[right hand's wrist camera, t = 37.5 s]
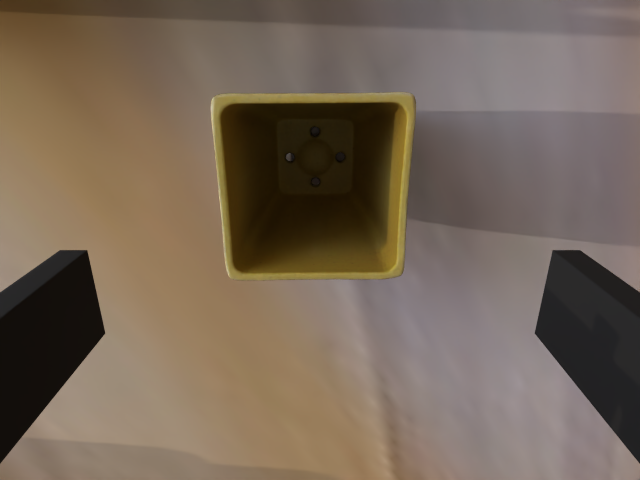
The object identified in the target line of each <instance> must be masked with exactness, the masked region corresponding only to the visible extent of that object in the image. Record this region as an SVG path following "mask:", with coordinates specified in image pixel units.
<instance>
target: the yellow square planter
mask: <svg viewBox="0 0 640 480" xmlns="http://www.w3.org/2000/svg"><path fill="white" fill-rule="evenodd" d="M211 119H212V128H213V138H214V149H215V158H216V168H217V177H218V189H219V199H220V208H221V219H222V230H223V244H224V255H225V264H226V269H227V273H228V275H229V277H230V278H231V279H233V280H241V281H257V280H263V281H265V280H303V279H389V278H394V277H398V276H401V275H402V273H403V270H404V261H405V240H406V221H407V201H408V190H409V178H410V168H411V158H412V147H413V137H414V128H415V119H416V101H415V97H414V96H413V94H411V93H407V92H389V93H306V94H305V93H271V94H238V93H227V94H219V95H217V96H215V97H214V98H213V99H212V102H211ZM313 127H317V128H319V131H320V132H319V134H318V135H317V136H313V135H312V134H311V129H312V128H313ZM288 153H292V154H293V155H294V156H295V158H294V160H293V161H288V160H287V159H286V155H287V154H288ZM338 153H343V154H344V156H345V158H344V160H342V161H338V160H337V159H336V155H337V154H338ZM315 177H316V178H318V179H319V180H320V183H319V184H318V185H313V184H312V183H311V180H312V179H313V178H315Z"/></svg>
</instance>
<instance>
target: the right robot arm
mask: <svg viewBox="0 0 640 480" xmlns="http://www.w3.org/2000/svg"><path fill="white" fill-rule="evenodd" d="M104 334H105V330H104V325H103V321H102V316H101V311H100V307H99V302H98V298H97V293H96V288H95V284H94V279H93V275H92V270H91V265H90V261H89V256H88V252H87V250H60V251H58V252H57V253H56V254H54V255H53V256H51V257H50V258H48V259H47V260H46V261H44V262H43V263H41V264H40V265H39V266H37V267H36V268H34V269H33V270H31V271H30V272H29V273H27V274H26V275H24V276H23V277H22V278H20V279H19V280H17V281H16V282H14V283H13V284H12V285H10V286H9V287H7V288H6V289H5V290H3V291H2V292H0V463H1V462H2V461H3V459H4V458H5V457H6V456H7V455H8V453H9V452H10V451H11V450H12V448H13V447H14V446H15V445H16V443H17V442H18V441H19V440H20V438H21V437H22V436H23V435H24V433H25V432H26V431H27V430H28V428H29V427H30V426H31V425H32V423H33V422H34V421H35V420H36V419H37V417H38V416H39V415H40V414H41V412H42V411H43V410H44V409H45V407H46V406H47V405H48V404H49V402H50V401H51V400H52V399H53V397H54V396H55V395H56V394H57V392H58V391H59V390H60V389H61V388H62V386H63V385H64V384H65V383H66V381H67V380H68V379H69V378H70V376H71V375H72V374H73V373H74V371H75V370H76V369H77V368H78V366H79V365H80V364H81V363H82V361H83V360H84V359H85V358H86V357H87V355H88V354H89V353H90V352H91V350H92V349H93V348H94V347H95V345H96V344H97V343H98V342H99V340H100V339H101V338H102V337H103V335H104ZM535 334H536V335H537V337H538V338H539V339H540V340H541V342H542V343H543V344H544V345H545V347H546V348H547V349H548V350H549V352H550V353H551V354H552V355H553V357H554V358H555V359H556V360H557V361H558V363H559V364H560V365H561V366H562V368H563V369H564V370H565V371H566V373H567V374H568V375H569V376H570V378H571V379H572V380H573V381H574V383H575V384H576V385H577V386H578V388H579V389H580V390H581V391H582V392H583V394H584V395H585V396H586V397H587V399H588V400H589V401H590V402H591V404H592V405H593V406H594V407H595V409H596V410H597V411H598V412H599V414H600V415H601V416H602V417H603V419H604V420H605V421H606V422H607V423H608V425H609V426H610V427H611V428H612V430H613V431H614V432H615V433H616V435H617V436H618V437H619V438H620V440H621V441H622V442H623V443H624V445H625V446H626V447H627V448H628V450H629V451H630V452H631V453H632V455H633V456H634V457H635V458H636V459H637V461H638V462H639V463H640V292H638V291H637V290H635V289H634V288H633V287H631V286H630V285H628V284H627V283H626V282H624V281H623V280H621V279H620V278H618V277H617V276H616V275H614V274H613V273H611V272H610V271H609V270H607V269H606V268H604V267H603V266H601V265H600V264H599V263H597V262H596V261H594V260H593V259H592V258H590V257H589V256H587V255H586V254H584V253H583V252H582V251H580V250H553V252H552V256H551V261H550V265H549V270H548V275H547V279H546V284H545V288H544V293H543V298H542V302H541V307H540V311H539V316H538V321H537V325H536V330H535Z"/></svg>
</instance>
